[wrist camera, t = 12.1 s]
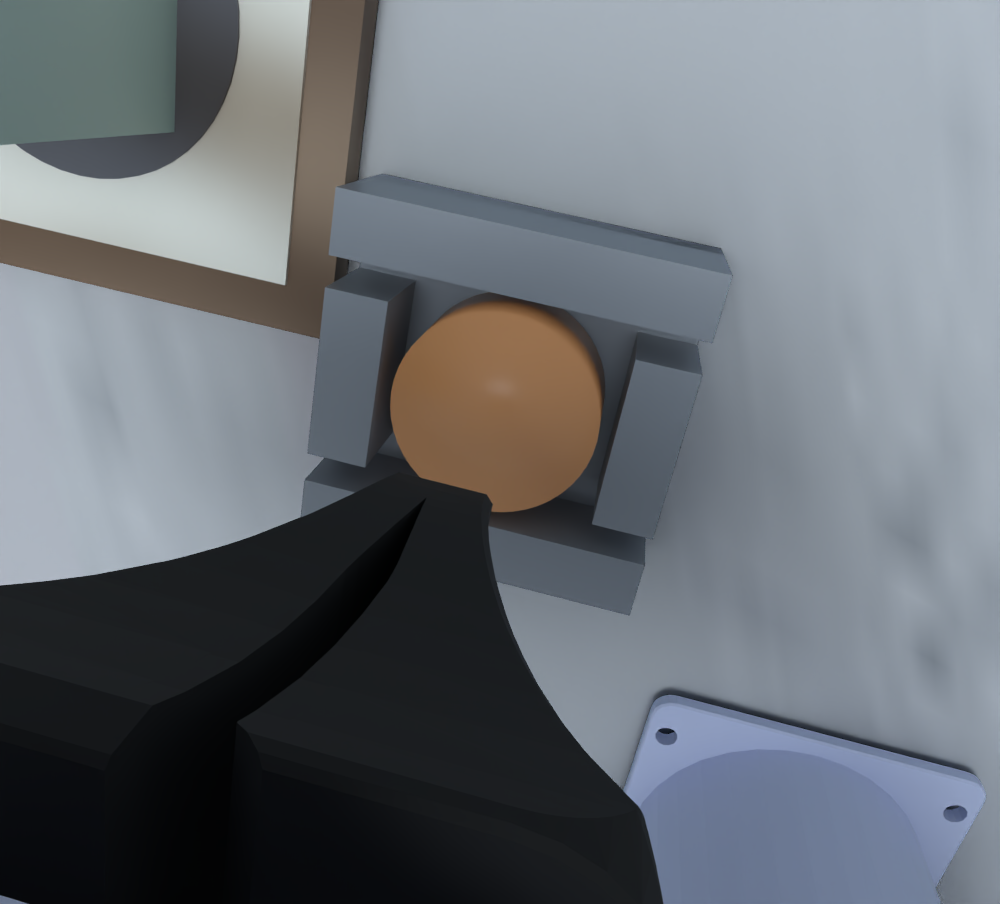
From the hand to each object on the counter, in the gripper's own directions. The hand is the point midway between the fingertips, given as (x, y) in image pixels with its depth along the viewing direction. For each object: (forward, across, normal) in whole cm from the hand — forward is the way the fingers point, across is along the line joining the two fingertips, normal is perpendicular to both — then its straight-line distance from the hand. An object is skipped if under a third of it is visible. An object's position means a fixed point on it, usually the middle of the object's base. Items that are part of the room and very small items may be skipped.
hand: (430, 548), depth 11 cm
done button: (+7, 0, 0) cm, 7 cm away
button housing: (+8, 0, 0) cm, 8 cm away
